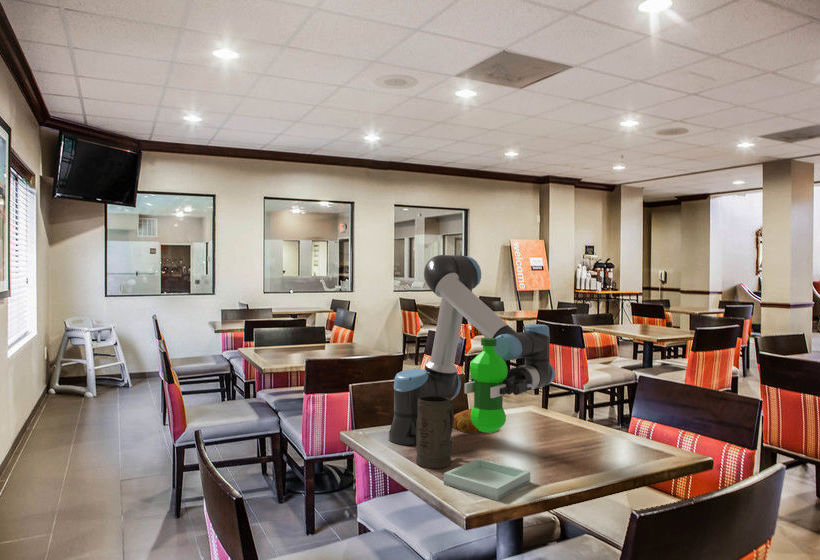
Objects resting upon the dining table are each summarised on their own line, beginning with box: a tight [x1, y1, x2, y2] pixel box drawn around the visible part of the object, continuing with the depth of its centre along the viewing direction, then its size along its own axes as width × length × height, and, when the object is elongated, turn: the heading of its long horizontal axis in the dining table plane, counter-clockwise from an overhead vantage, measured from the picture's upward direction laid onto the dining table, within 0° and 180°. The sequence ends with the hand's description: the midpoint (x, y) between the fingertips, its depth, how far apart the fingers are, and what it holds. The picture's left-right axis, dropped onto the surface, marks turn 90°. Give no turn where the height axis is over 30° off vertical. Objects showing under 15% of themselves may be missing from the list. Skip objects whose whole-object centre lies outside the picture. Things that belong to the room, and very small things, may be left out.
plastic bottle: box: [469, 337, 509, 434], centre depth 157 cm, size 10×10×25 cm
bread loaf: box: [453, 408, 480, 434], centre depth 214 cm, size 14×16×8 cm
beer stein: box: [415, 396, 455, 469], centre depth 176 cm, size 15×11×20 cm
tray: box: [443, 457, 531, 501], centre depth 157 cm, size 17×17×3 cm
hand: (478, 390), depth 153 cm, fingers closed on plastic bottle, 8 cm apart
